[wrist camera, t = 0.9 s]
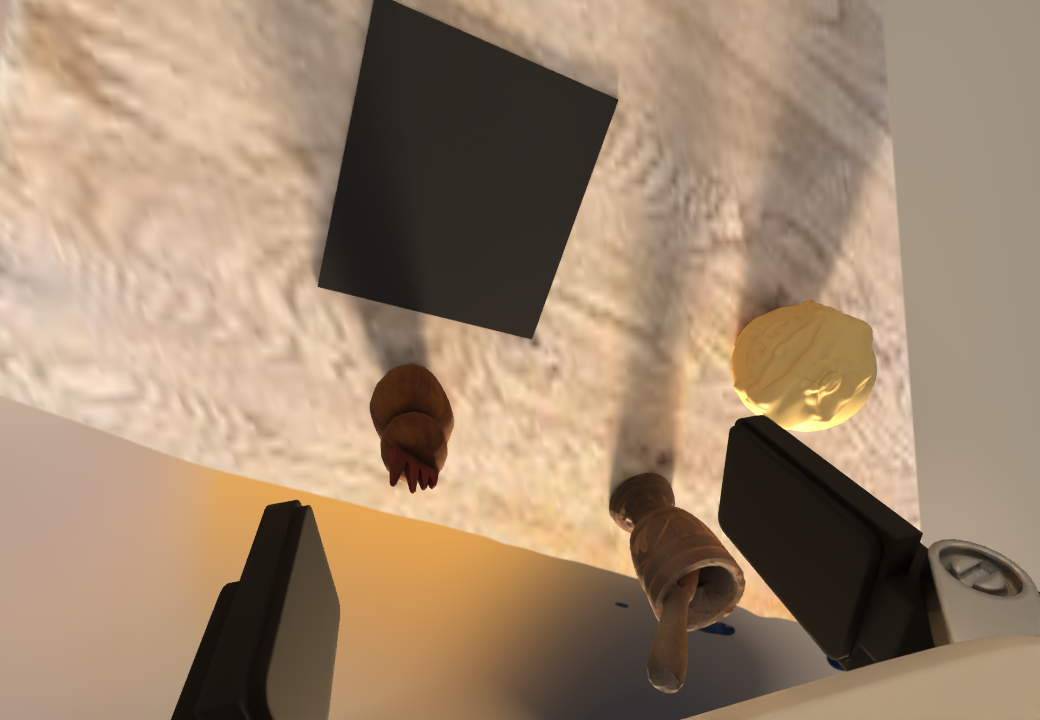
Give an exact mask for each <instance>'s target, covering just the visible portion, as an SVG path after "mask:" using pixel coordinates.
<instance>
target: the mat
mask: <svg viewBox="0 0 1040 720" xmlns="http://www.w3.org/2000/svg"><path fill="white" fill-rule="evenodd" d="M617 102H618V99H616V98H613V97H611V96H609V95H606V94H604V93H602V92H600V91H597V90H595V89H593V88H590V87H588V86H586V85H584V84H581V83H579V82H577V81H575V80H572V79H570V78H568V77H565V76H563V75H561V74H559V73H556V72H554V71H552V70H550V69H547V68H545V67H543V66H540V65H538V64H536V63H534V62H531V61H529V60H527V59H525V58H522V57H520V56H518V55H515V54H513V53H511V52H509V51H506V50H504V49H502V48H499V47H497V46H495V45H493V44H490V43H488V42H486V41H484V40H481V39H479V38H477V37H474V36H472V35H470V34H468V33H465V32H463V31H461V30H459V29H456V28H454V27H452V26H449V25H447V24H445V23H443V22H440V21H438V20H436V19H433V18H431V17H429V16H427V15H424V14H422V13H420V12H418V11H415V10H413V9H411V8H408V7H406V6H404V5H402V4H399V3H397V2H395V1H393V0H374V5H373V10H372V15H371V20H370V25H369V30H368V35H367V40H366V45H365V50H364V55H363V60H362V65H361V70H360V75H359V81H358V86H357V91H356V96H355V101H354V106H353V111H352V116H351V121H350V126H349V131H348V136H347V141H346V146H345V151H344V156H343V161H342V166H341V171H340V177H339V182H338V187H337V192H336V197H335V202H334V207H333V212H332V217H331V222H330V227H329V232H328V237H327V242H326V247H325V252H324V257H323V262H322V267H321V273H320V278H319V283H318V287H320V288H325V289H329V290H333V291H337V292H341V293H345V294H349V295H353V296H357V297H361V298H365V299H369V300H373V301H378V302H382V303H386V304H390V305H394V306H398V307H402V308H406V309H410V310H414V311H418V312H422V313H427V314H431V315H435V316H439V317H443V318H447V319H451V320H455V321H459V322H463V323H467V324H471V325H475V326H480V327H484V328H488V329H492V330H496V331H500V332H504V333H508V334H512V335H516V336H520V337H524V338H529V339H532V337H533V335H534V332H535V329H536V326H537V324H538V321H539V318H540V315H541V313H542V310H543V307H544V304H545V301H546V299H547V296H548V293H549V290H550V288H551V285H552V282H553V279H554V277H555V274H556V271H557V268H558V266H559V263H560V260H561V257H562V254H563V252H564V249H565V246H566V243H567V241H568V238H569V235H570V232H571V230H572V227H573V224H574V221H575V218H576V216H577V213H578V210H579V207H580V205H581V202H582V199H583V196H584V194H585V191H586V188H587V185H588V183H589V180H590V177H591V174H592V171H593V169H594V166H595V163H596V160H597V158H598V155H599V152H600V149H601V147H602V144H603V141H604V138H605V135H606V133H607V130H608V127H609V124H610V122H611V119H612V116H613V113H614V111H615V108H616V105H617Z"/></svg>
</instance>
